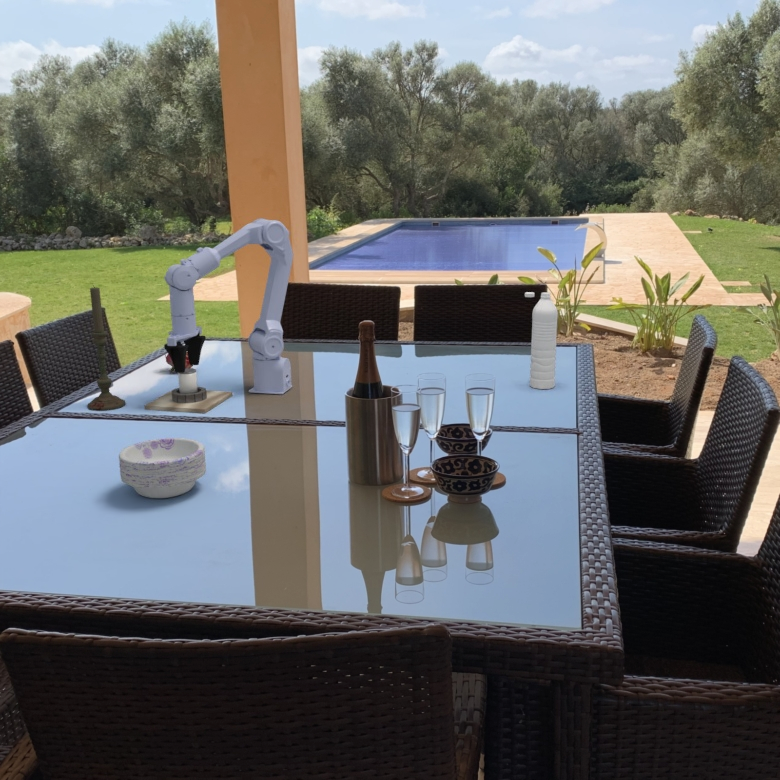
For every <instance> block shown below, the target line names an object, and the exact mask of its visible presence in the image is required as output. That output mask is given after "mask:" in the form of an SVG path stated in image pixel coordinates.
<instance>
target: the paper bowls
mask: <svg viewBox="0 0 780 780" xmlns="http://www.w3.org/2000/svg"><path fill="white" fill-rule="evenodd" d="M118 460H119V464H118V465H119V466H118V467H119V474H120V480H121V482H122V483H123V484H125V485H128V486H130V487H132V488H133V489H134V490H135V491H136V493H137V494H138V495H140V496H143V497H146V498H150V499H167V498H168V499H169V498H174V497H177V496H181V495H184V494H186V493H188V492H189V491H190V490H192V489H193V488H194V486H195V483H196V481H197V480H199V479H201V478H202V477H203V476H205V474H206V472H207V467H206V466H207V463H206V450H205V446H204V444H203V443H202V442H200V441H197V440H196V439H191V438H190V439H189V438H183V437H171V438H170V437H166V438H155V439H150V440H149V439H148V440H144V441H139V442H137V443H134V444H131V445H129V446H126V447H124V448H123V449H122V450H120V452H119V455H118Z"/></svg>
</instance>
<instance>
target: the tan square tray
mask: <svg viewBox="0 0 780 780" xmlns="http://www.w3.org/2000/svg"><path fill="white" fill-rule="evenodd" d="M197 389H198V393H193V394H180V391H179V387H178V388H174V389H172V390H170V391H168V392H166V393H165V394H163V395H161V396H159V397H157V398H155V399H154V400H151V401H150V402H148V403H146V404H145V405H144V410H147V411H148V410H150V411H164V412H166V411H167V412H177V413H178V412H179V413H181V412H182V413H193V414H194V413H195V414H207V413H208V412H209V411H211V410H213V409H214V408H216V407H217V406H219V405H220V404H222V403H223V402H225V401H226V400H229V398H231V397H232V396H233V391H226V390H225V391H223V390H222V391H221V390H207V388H206V387H202V386H197Z"/></svg>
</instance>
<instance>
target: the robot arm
mask: <svg viewBox="0 0 780 780" xmlns="http://www.w3.org/2000/svg"><path fill="white" fill-rule="evenodd" d="M248 245H259V246H261V247H262V248H263V249H264V250H265V252H266V253H267V254H268V256H269V257H270V263H269V269H268V274H267V279H266V283H265V284H266V285H265V289H264V294H263V298H262V305H261V311H260V313H259V314H260V315H259V318H258V320H256V322H255V323H254V325H253V329H252V331H251V333H250V334H249V335H248V339H247V344H248V347H249V349H250V350H251V351H252V372H253V376H252V377H253V387H251V388H250V389H249V390H248V393H249V394H250V393H252V394H253V393H255V394H266V395H267V394H269V395H270V394H271V395H283V394H285V393H286V392H287V391H289V390H290V389H292V388H293V385H292V367H291V361H290V359H289V358H287V357H282V356H281V354H282V353H283V350H284V349H285V343H284V339H283V337H284V336H283V335H284V330H283V327H282V324H281V319H282V315H283V311H284V310H283V309H284V305H285V301H286V295H287V289H288V284H289V280H290V275H291V270H292V265H293V260H294V251H293V248H292V247H293V246H292V243H291V241H290V230H289V229H287V227H286V226H285V225H284V224H283V222H281V221H279V220H274V219H272V220H270V219H266V218H262V217H261V218H257V219H255V220H253V221H252V222H249V223H248V224H245V225H244V226H243V227H242V228H240V229H239V230H237V231H235V232H234V233H232V234H231V235H230V236H228V237H227V238H225V240H223V241H221V242H220V243H218V244H217V245H216V246H214V247H213V248H211V247H208V246H204V247H201V246H200V247H198V248H196V249H195V250H196V252H195V253H193V254H192V255H190V256H189V257H187V258H186V259H185V258H182V259H180V261H179V262H180V264H173V265H170V266H169V267H168V268H167V271H165V275H164V281H165V283H166V284H167V285H168V288H169V303H170V304H169V305H170V317H171V318H170V319H171V327H172V330H171V331H168V337H166V343H165V344H164V346H163V347H164V350H165V352H167V355H168V354H169V356H170V358H171V360H172V362H173V365H174V368H175V370H174V371H175V373H177V374H178V373H184V372H185V361H186V353H188V359H189V363H190V365H193V366H199V365H200V364H199V363H200V359H201V354H202V349H203V346H204V343H205V341H206V335H202V334H203V330H202V326H197V321H196V308H195V296H194V295H195V294H194V287H195V285H196V283H197V281H199V280H201V279H202V278H204V277H206V276H207V275H208V274H211V273H212V272H214V271H215V270H217V269H218V268H219V267H220V264H221V260H223V259H225V258H226V257H228V256H230V255H231V254H233V253H235V252H237V251H238V250H240V249H243V248H244V247H246V246H248ZM182 342H183V343H184V344H183V343H182Z"/></svg>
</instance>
